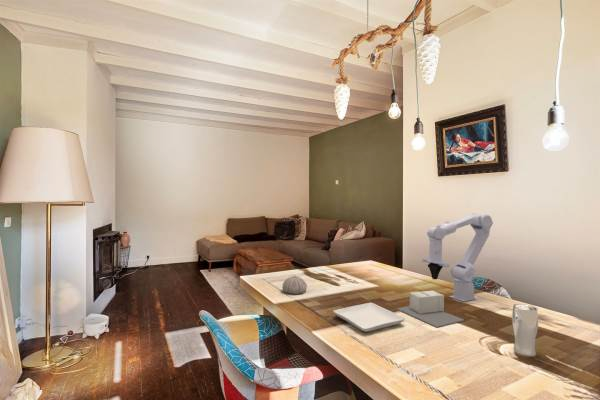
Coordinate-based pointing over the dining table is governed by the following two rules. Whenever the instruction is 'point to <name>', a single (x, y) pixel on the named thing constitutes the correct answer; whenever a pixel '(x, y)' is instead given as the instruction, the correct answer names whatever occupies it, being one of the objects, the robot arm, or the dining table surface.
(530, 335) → the beer glass
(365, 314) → the salad plate
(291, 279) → the sea urchin shell
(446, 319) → the mat
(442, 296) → the supplement box
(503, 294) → the dining table surface
